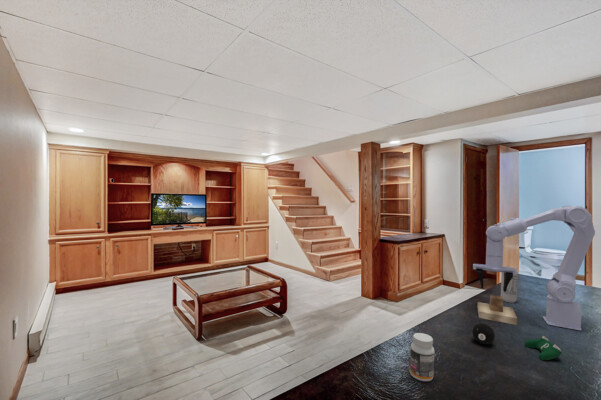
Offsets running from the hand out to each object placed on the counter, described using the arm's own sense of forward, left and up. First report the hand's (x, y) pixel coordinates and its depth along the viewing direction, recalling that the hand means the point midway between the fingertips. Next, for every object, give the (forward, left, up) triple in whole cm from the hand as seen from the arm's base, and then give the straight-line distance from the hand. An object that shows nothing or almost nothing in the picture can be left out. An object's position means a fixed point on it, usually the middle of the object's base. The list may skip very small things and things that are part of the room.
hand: (493, 289), depth 120 cm
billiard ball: (+5, +32, -10) cm, 34 cm away
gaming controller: (-10, +30, -10) cm, 33 cm away
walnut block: (-1, +3, -7) cm, 8 cm away
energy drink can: (-8, -21, -10) cm, 24 cm away
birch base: (-1, +3, -10) cm, 11 cm away
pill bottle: (+20, +61, -10) cm, 65 cm away
